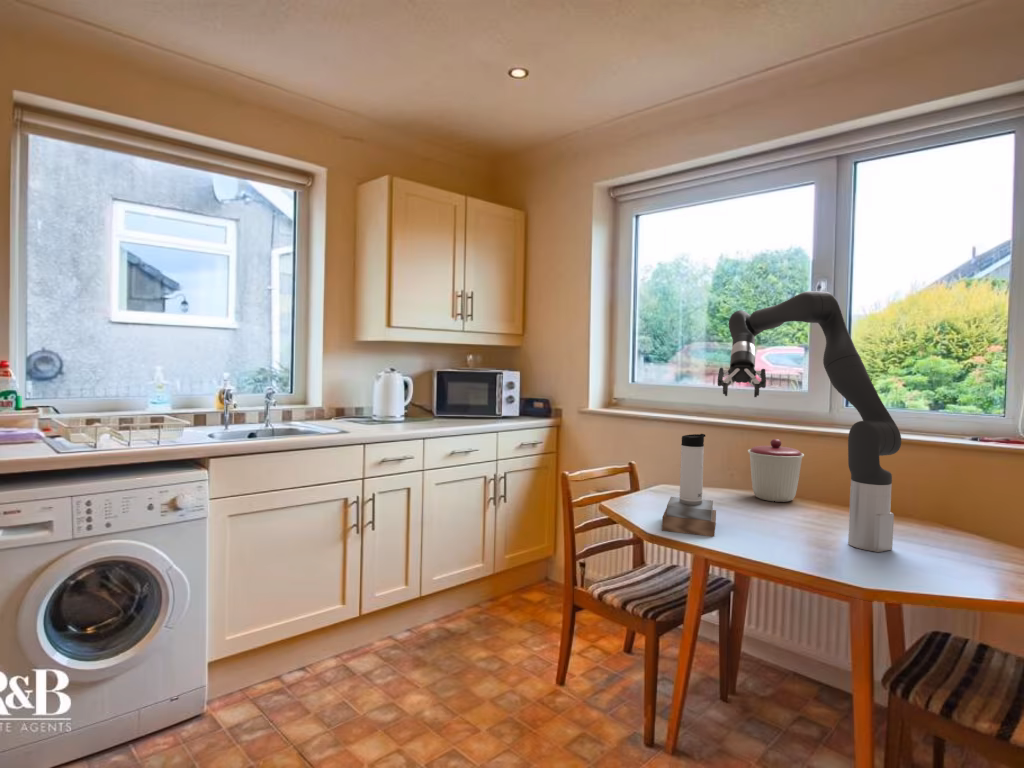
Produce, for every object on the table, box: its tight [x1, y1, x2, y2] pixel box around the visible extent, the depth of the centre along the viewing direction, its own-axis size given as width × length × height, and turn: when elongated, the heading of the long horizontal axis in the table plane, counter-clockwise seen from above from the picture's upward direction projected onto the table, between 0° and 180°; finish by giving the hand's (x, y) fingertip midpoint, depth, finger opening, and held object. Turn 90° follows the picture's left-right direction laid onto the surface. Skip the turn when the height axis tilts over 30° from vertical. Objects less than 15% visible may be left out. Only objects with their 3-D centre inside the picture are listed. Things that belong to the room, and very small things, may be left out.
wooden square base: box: [661, 496, 717, 537], centre depth 175 cm, size 14×14×7 cm
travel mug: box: [679, 433, 706, 505], centre depth 175 cm, size 6×7×20 cm
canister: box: [747, 438, 805, 503], centre depth 213 cm, size 18×18×21 cm
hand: (740, 394), depth 188 cm, fingers open, 8 cm apart
